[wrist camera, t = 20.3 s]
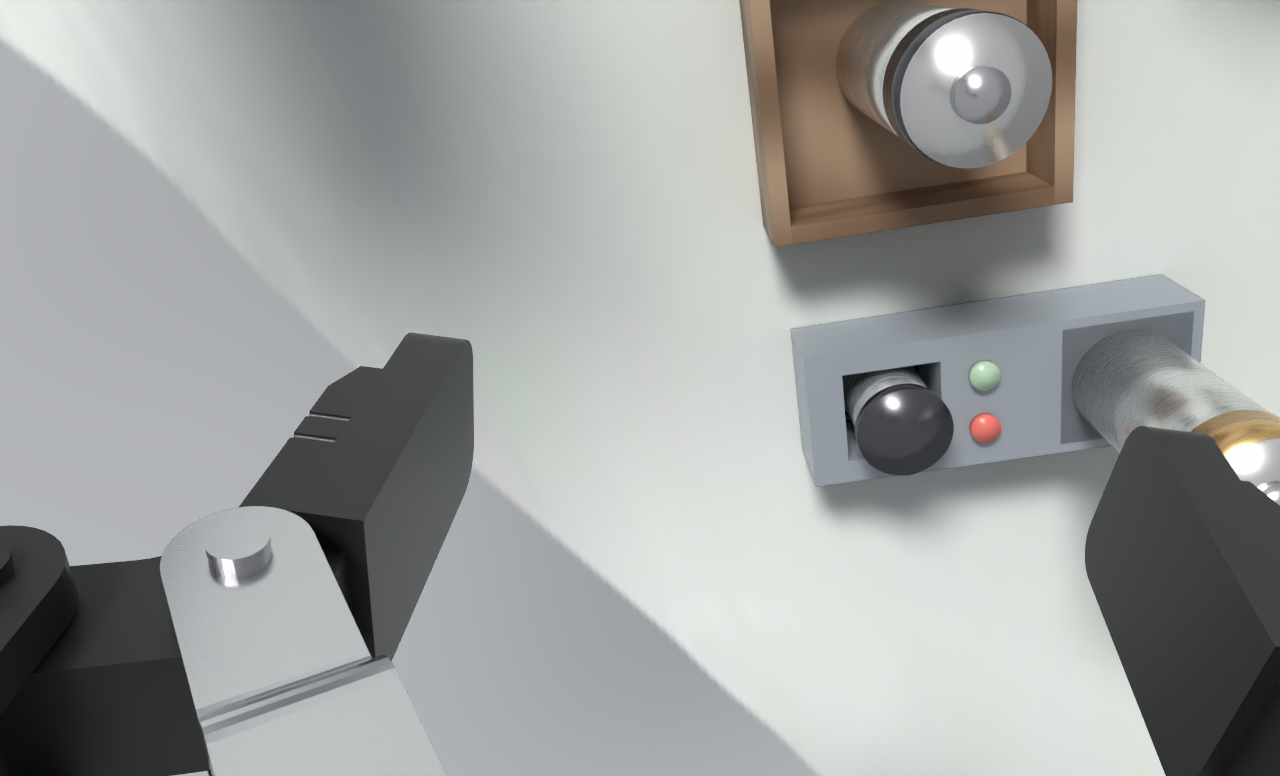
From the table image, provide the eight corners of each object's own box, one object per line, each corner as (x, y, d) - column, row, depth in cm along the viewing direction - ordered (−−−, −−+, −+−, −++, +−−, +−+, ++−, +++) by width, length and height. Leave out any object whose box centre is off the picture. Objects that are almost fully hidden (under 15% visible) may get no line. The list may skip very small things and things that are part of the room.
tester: (790, 328, 43) (805, 362, 40) (1161, 274, 42) (1210, 303, 39) (802, 449, 46) (817, 491, 42) (1154, 400, 45) (1199, 438, 41)
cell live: (1071, 336, 40) (1213, 459, 30) (1184, 320, 40) (1365, 438, 30) (1069, 435, 42) (1202, 581, 32) (1177, 420, 41) (1346, 563, 32)
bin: (731, -72, 37) (741, -75, 34) (1040, -124, 36) (1079, -132, 33) (763, 224, 41) (774, 247, 38) (1037, 182, 41) (1072, 202, 38)
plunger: (829, 347, 44) (854, 396, 39) (915, 334, 43) (952, 383, 38) (835, 423, 45) (860, 481, 40) (919, 412, 45) (954, 468, 40)
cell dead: (830, 9, 37) (901, 26, 28) (949, -11, 37) (1063, 0, 28) (839, 129, 39) (909, 185, 30) (952, 110, 39) (1061, 161, 29)
